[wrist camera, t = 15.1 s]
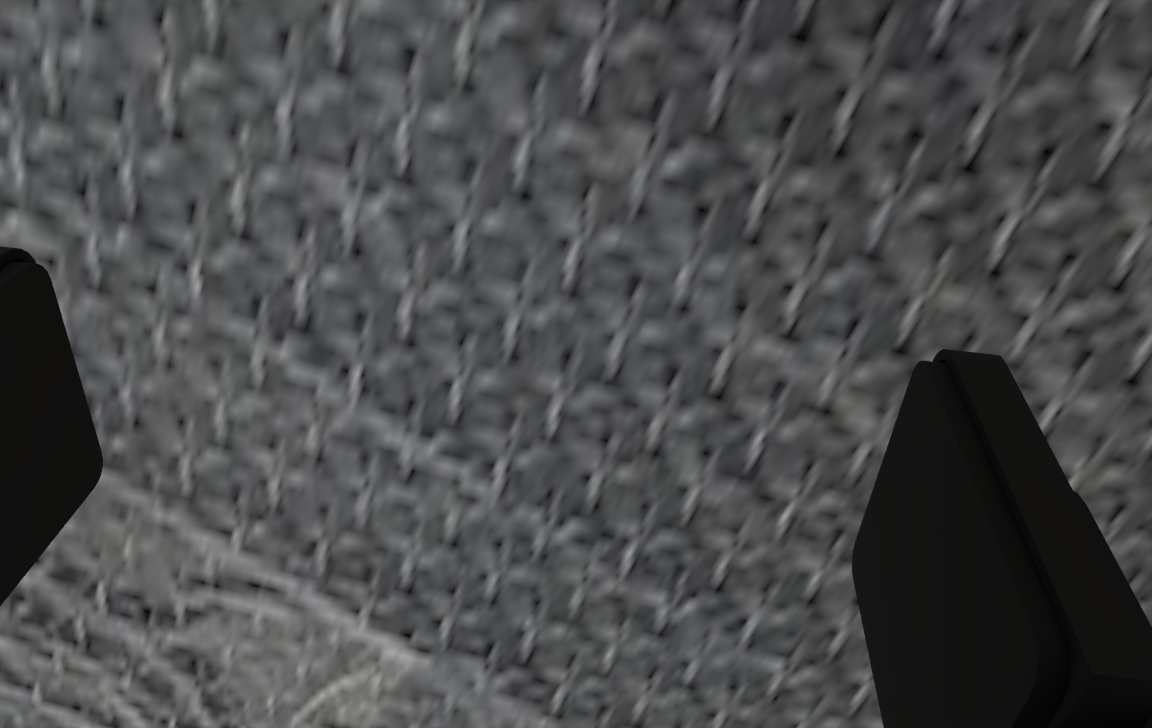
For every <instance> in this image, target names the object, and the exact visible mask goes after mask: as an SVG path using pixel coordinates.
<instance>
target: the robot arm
mask: <svg viewBox="0 0 1152 728" xmlns="http://www.w3.org/2000/svg"><path fill="white" fill-rule="evenodd" d="M102 467H103V457H102V452H101V448H100V445H99V441H98V438H97V434H96V431H95V428H94V424H93V421H92V417H91V414H90V411H89V407H88V404H87V400H86V397H85V394H84V390H83V387H82V383H81V380H80V377H79V373H78V370H77V366H76V363H75V359H74V356H73V353H72V349H71V346H70V342H69V339H68V336H67V332H66V329H65V325H64V322H63V319H62V315H61V312H60V308H59V305H58V302H57V298H56V295H55V291H54V288H53V285H52V281H51V278H50V276H49V274H48V272H47V270H46V269H45V268H44V267H43V266H41V265H39V264H36V262H35V260H34V259H33V257H32V256H31V255H30V254H29V253H28V252H26V251H24V250H22V249H18V248H9V247H0V606H1V605H2V603H3V602H4V601H5V600H6V598H7V597H8V596H9V595H10V593H11V592H12V591H13V590H14V588H15V587H16V586H17V585H18V583H19V582H20V581H21V580H22V578H23V577H24V576H25V575H26V573H27V572H28V571H29V569H30V568H31V567H32V566H33V564H34V563H35V562H36V561H37V559H38V558H39V557H40V556H41V554H42V553H43V552H44V551H45V549H46V548H47V547H48V546H49V544H50V543H51V542H52V541H53V539H54V538H55V537H56V536H57V534H58V533H59V532H60V530H61V529H62V528H63V527H64V525H65V524H66V523H67V522H68V520H69V519H70V518H71V517H72V515H73V514H74V513H75V512H76V510H77V509H78V508H79V507H80V505H81V504H82V503H83V502H84V500H85V499H86V498H87V497H88V495H89V494H90V493H91V491H92V490H93V489H94V488H95V486H96V484H97V483H98V481H99V478H100V476H101V472H102ZM852 573H853V580H854V585H855V590H856V595H857V600H858V604H859V609H860V614H861V619H862V624H863V629H864V634H865V639H866V643H867V648H868V653H869V658H870V663H871V668H872V673H873V677H874V682H875V687H876V692H877V697H878V702H879V707H880V711H881V716H882V721H883V726H884V728H1152V627H1151V625H1150V623H1149V621H1148V619H1147V617H1146V615H1145V614H1144V612H1143V610H1142V608H1141V606H1140V604H1139V602H1138V601H1137V599H1136V597H1135V595H1134V593H1133V591H1132V589H1131V587H1130V586H1129V584H1128V582H1127V580H1126V578H1125V576H1124V574H1123V572H1122V571H1121V569H1120V567H1119V565H1118V563H1117V561H1116V559H1115V557H1114V556H1113V554H1112V552H1111V550H1110V548H1109V546H1108V544H1107V542H1106V541H1105V539H1104V537H1103V535H1102V533H1101V531H1100V529H1099V527H1098V526H1097V524H1096V522H1095V520H1094V518H1093V516H1092V514H1091V513H1090V511H1089V509H1088V507H1087V505H1086V504H1085V502H1084V501H1083V500H1082V498H1081V497H1080V496H1079V494H1078V493H1076V492H1074V491H1073V490H1072V488H1071V486H1070V484H1069V482H1068V480H1067V478H1066V476H1065V475H1064V473H1063V471H1062V469H1061V467H1060V465H1059V463H1058V461H1057V459H1056V457H1055V456H1054V454H1053V452H1052V450H1051V448H1050V446H1049V444H1048V442H1047V440H1046V438H1045V437H1044V435H1043V433H1042V431H1041V429H1040V427H1039V425H1038V423H1037V421H1036V419H1035V418H1034V416H1033V414H1032V412H1031V410H1030V408H1029V406H1028V404H1027V402H1026V400H1025V399H1024V397H1023V395H1022V393H1021V391H1020V389H1019V387H1018V385H1017V383H1016V381H1015V380H1014V378H1013V376H1012V374H1011V372H1010V370H1009V368H1008V366H1007V364H1006V362H1005V361H1004V360H1003V359H1002V357H1001V356H998V355H993V354H983V353H974V352H965V351H956V350H947V349H943V350H941V351H939V352H938V353H937V355H936V356H935V358H934V360H933V362H930V361H920V362H918V364H917V365H916V366H915V368H914V371H913V373H912V376H911V379H910V382H909V385H908V387H907V390H906V393H905V396H904V399H903V402H902V405H901V408H900V411H899V414H898V417H897V420H896V423H895V426H894V429H893V432H892V435H891V438H890V441H889V444H888V447H887V450H886V453H885V455H884V458H883V461H882V464H881V467H880V470H879V473H878V476H877V479H876V482H875V485H874V488H873V491H872V494H871V497H870V500H869V503H868V506H867V509H866V512H865V515H864V518H863V520H862V523H861V526H860V529H859V532H858V535H857V538H856V541H855V545H854V549H853V557H852Z"/></svg>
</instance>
